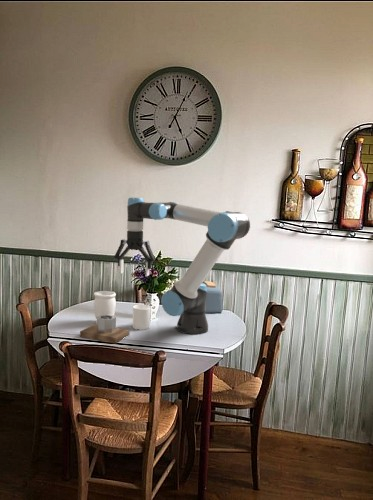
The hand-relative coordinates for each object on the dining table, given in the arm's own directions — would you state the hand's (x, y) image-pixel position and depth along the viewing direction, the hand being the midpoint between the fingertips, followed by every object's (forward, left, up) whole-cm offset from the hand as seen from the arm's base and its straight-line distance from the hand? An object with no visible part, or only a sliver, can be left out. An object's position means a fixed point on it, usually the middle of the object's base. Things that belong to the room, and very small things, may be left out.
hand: (134, 274), depth 222 cm
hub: (+3, +20, -22) cm, 30 cm away
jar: (+13, +5, -25) cm, 29 cm away
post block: (+3, +21, -25) cm, 33 cm away
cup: (-5, 0, -25) cm, 26 cm away
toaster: (-22, -44, -25) cm, 55 cm away
